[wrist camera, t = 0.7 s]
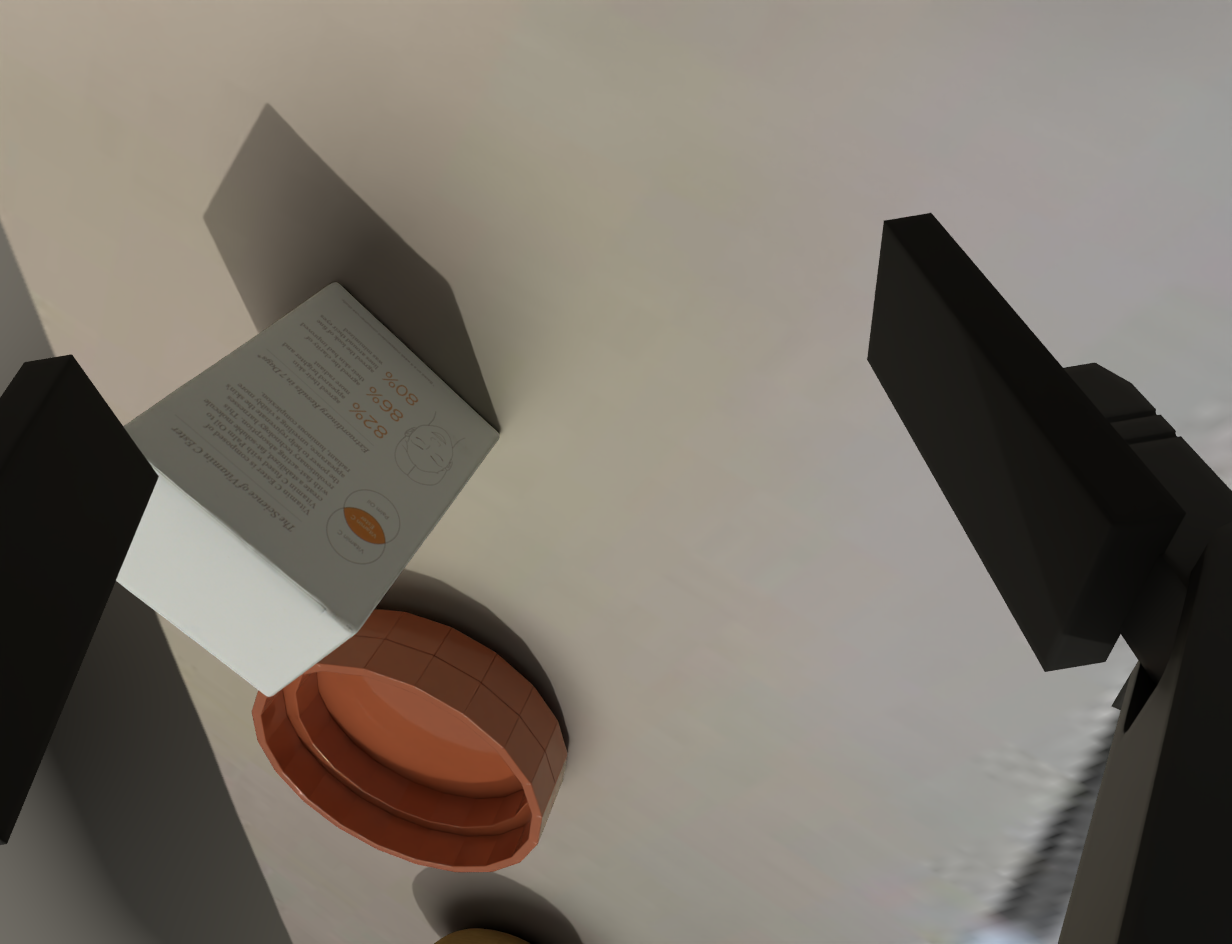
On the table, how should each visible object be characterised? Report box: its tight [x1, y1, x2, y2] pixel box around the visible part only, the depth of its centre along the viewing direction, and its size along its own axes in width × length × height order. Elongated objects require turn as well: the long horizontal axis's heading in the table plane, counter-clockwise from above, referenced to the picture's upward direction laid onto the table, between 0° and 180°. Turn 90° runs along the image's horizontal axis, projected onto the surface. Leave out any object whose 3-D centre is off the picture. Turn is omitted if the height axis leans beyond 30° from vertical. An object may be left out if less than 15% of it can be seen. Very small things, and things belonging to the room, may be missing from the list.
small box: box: [116, 282, 500, 697], centre depth 27 cm, size 8×6×10 cm
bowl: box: [252, 609, 567, 872], centre depth 40 cm, size 15×15×4 cm
